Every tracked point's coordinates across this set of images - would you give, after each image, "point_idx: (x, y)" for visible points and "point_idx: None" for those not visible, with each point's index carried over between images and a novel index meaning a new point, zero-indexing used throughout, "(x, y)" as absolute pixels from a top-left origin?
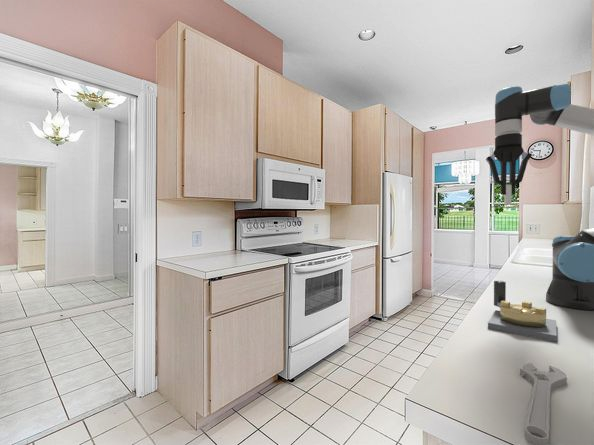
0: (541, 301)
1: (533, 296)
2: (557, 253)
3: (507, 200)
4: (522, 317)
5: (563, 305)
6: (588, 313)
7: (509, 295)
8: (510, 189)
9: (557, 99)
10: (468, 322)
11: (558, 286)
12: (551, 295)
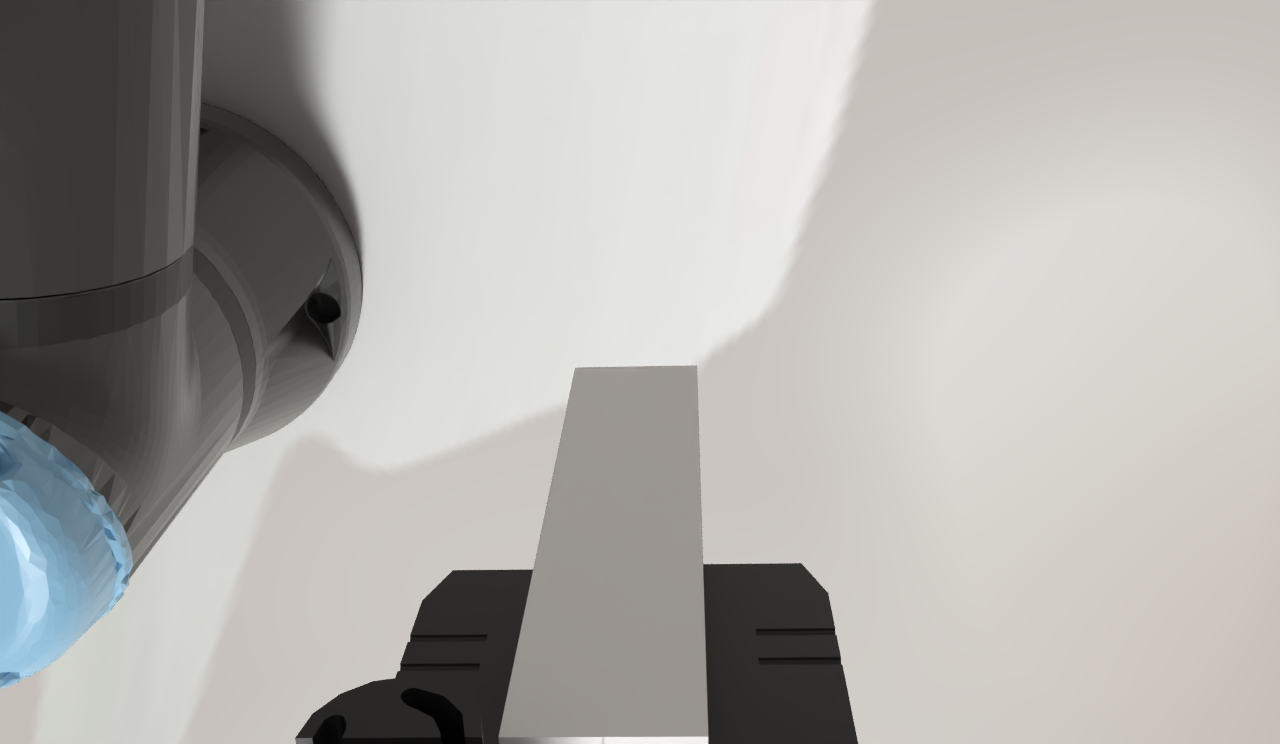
0: (398, 257)
1: (426, 405)
2: (146, 72)
3: (666, 410)
4: None
5: (275, 139)
6: None
7: None
8: (560, 604)
9: None
10: None
11: (251, 242)
12: (322, 236)
